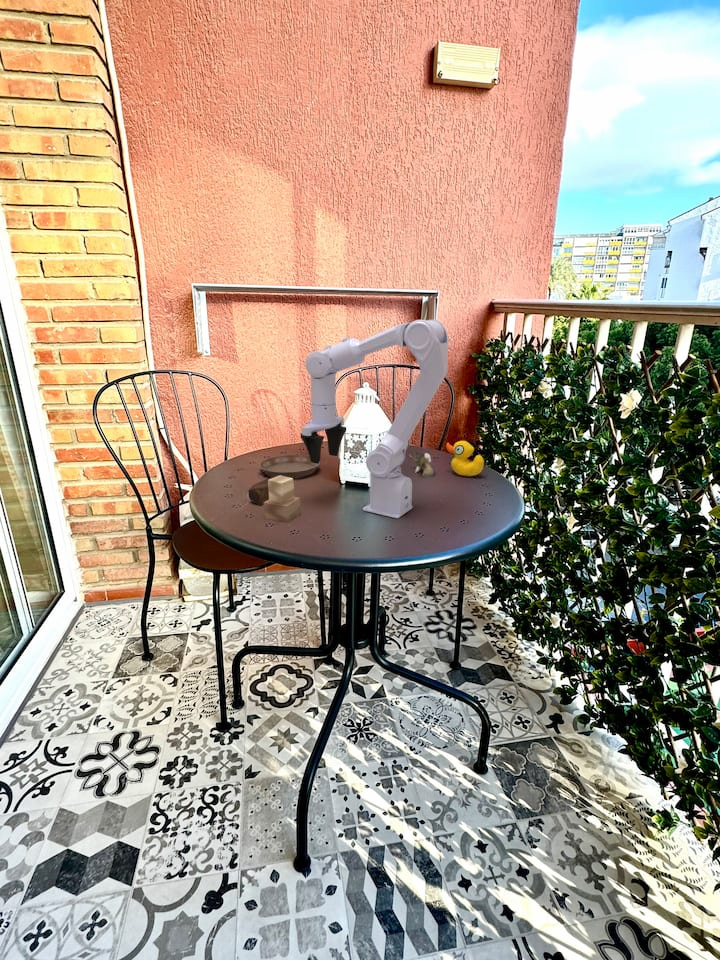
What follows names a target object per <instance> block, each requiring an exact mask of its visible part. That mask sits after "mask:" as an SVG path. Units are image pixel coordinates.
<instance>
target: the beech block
mask: <svg viewBox="0 0 720 960" xmlns="http://www.w3.org/2000/svg"><path fill="white" fill-rule="evenodd" d="M271 478H272V477H271ZM268 479H269V478H268ZM294 482H295V481H294V479H293V478H289V477H285V476H281V475H280V476H277V477H275V478H272V479H269V480H268V489H269V501H272V502H275V503H279V504H285V503H287V502H289V501H291V500H294V497H295V483H294Z"/></svg>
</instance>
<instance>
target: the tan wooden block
mask: <svg viewBox="0 0 720 960" xmlns="http://www.w3.org/2000/svg"><path fill="white" fill-rule="evenodd" d="M301 510H302V509H301V497H298V496H294V500H291V501H289V502H287V503H285V504H279V503H275V502H272V501H269V500H267V501H265V502H264V504H263V515H264V516H263V517H264V519H265V520H266V519H267V520H273V521H279V522H283V523H289V522H290V521H292V520H293V519H294V518H296V517H297V516H299V515H300V514H301ZM299 513H300V514H299ZM295 516H296V517H295ZM291 519H292V520H291Z"/></svg>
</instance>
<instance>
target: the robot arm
mask: <svg viewBox="0 0 720 960" xmlns="http://www.w3.org/2000/svg"><path fill="white" fill-rule="evenodd" d="M341 341H342V342H339V343H337V344H334V345H332V346H331V345H327V346H324V350H320V351H319V350H315V351H313V352H311V353H310V354H309V355H308V356H307V358H306V359H305V369H306V371H307V373H308V374H309V375H310V397H311V398H310V399H311V401H310V403H311V419H310V420H308V423H307V424H306V425H304V426H301V433H300V440H302V441H303V443H304V445H305V447H306V450H307V452H308V456H310V460H311V463H317V464H318V463H320V464H321V452H322V446H323V442H324V439H325V437H326V439H327V450H328V454H329V456H334V457H338V455H339V450H340V448H341V447H340V446H341V443H342V440H343V438H344V435H345V434H346V433H347V427H346V426H344V425H345V417H344V416H343V417H342V416H337V405H336V404H337V403H336V394H337V393H336V379H337V378H336V376H337V373H339V372H342V371H344V370H346V369H350V368H352V367H355V366H358V365H360V364H362V363H363V362H364V361H365V358H366V356H368V355H369V354H374V353H376V352H379V351H381V350H384V349H388V348H390V347H393V346H398V347H400V348H401V347H402V348H406V347H407V349H408V350H409V351H410V352H411V353H412V355H413V356H414V358H415V359H416V362H417V363H418V366H419V369H420V372H419V374H418V376H417V378H416V380H415V381H414V383H413V385H412V387H411V389H410V390H409V393H408V395H407V396H406V398H405V400H404V401H403V404H402V405H401V407H400V409H399V411H398V412H397V415H396V417H395V419H394V420H393V422H392V424H391V425H390V427H389V429H388V432H387V433H386V434H385V436H384V437H383V438H382V439H381V440H380V441H379V443H378V444H377V446H376V448H374V449H373V450H371V451H370V452H369V453H368V455H367V456H366V460H365V465H366V468H367V470H368V471H369V473H370V474H369V479H370V480H369V482H370V484H369V488H370V489H369V504H367V505H365V506H364V507H362V510H363V511H365V512H369V513H373V514H378V515H381V516H386V517H390V518H393V519H399V518H401V517H402V516H404V515H405V514H406V513H407V512H409V511H411V510H412V509H413V505H412V499H413V481H412V479H411V478H410V477H408V476H405V475H404V474H402V467H401V465H402V464H404V461H405V459H406V451H407V449H408V446H409V440H410V439H411V437H412V435H413V433H414V431H415V430H416V429H417V428H416V427H417V426H418V425H419V423H420V421H421V419H422V417H423V416H424V415H425V412H426V410H427V409H428V408H429V405H430V403H431V402H432V400H433V399H434V396H435V395H436V393H437V391H438V390H439V388H440V386H441V385H442V383H443V381H444V379H445V377H446V376H447V373H448V368H449V361H448V360H449V359H448V358H449V357H448V354H449V353H448V352H449V350H448V349H449V343H450V338H449V335H448V332H447V330H446V327H445V326H444V324H443V323H442V322H441V321H439V320H437V319H427V320H425V319H416V320H414V321H411V322H405V323H402V324H398V325H395V326H392V327H390V328H387V329H386V330H384V331H381V332H378V333H377V334H374V335H372V336H370V337H368V338H365V339H363V340H359V339H357V338H354V337H353V338H350V337H344V338H342V339H341ZM323 431H324V433H325V435H326V436H324V435H319V432H323Z"/></svg>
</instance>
